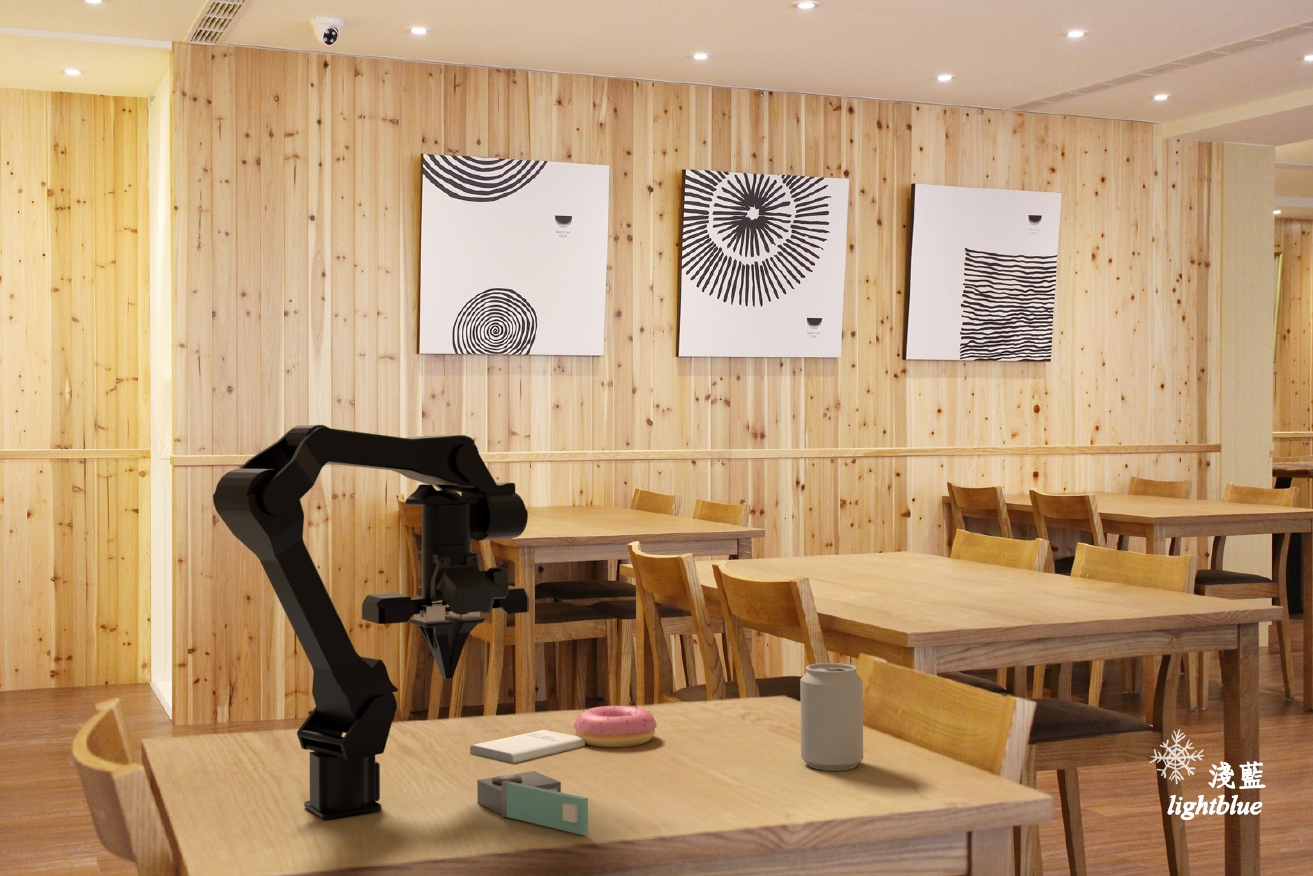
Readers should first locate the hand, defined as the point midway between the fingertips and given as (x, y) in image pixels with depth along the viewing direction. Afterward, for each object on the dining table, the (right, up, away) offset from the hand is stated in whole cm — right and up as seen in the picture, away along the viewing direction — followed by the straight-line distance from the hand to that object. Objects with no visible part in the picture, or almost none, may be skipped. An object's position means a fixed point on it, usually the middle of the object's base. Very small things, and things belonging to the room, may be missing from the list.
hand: (447, 678), depth 154 cm
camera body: (+9, -12, -9) cm, 18 cm away
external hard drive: (+8, -13, +17) cm, 22 cm away
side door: (+12, -12, -18) cm, 25 cm away
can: (+45, -12, +8) cm, 48 cm away
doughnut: (+19, -12, +22) cm, 31 cm away
